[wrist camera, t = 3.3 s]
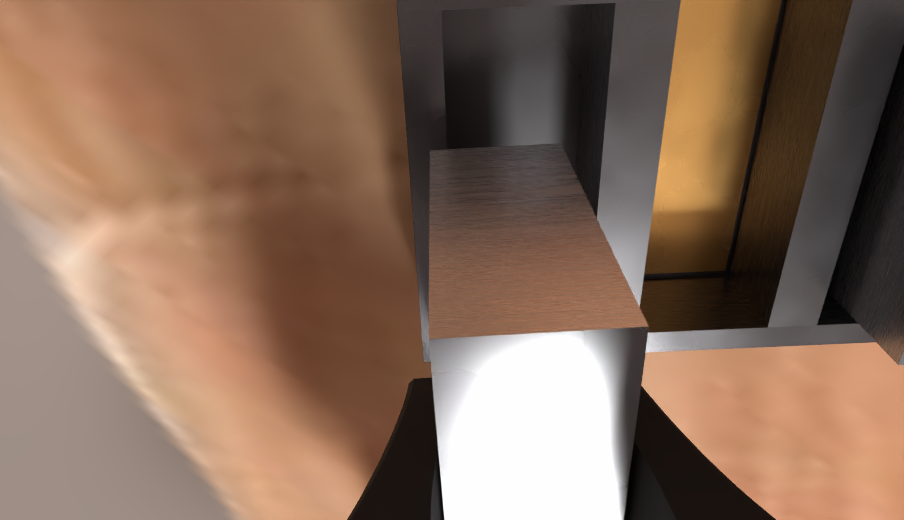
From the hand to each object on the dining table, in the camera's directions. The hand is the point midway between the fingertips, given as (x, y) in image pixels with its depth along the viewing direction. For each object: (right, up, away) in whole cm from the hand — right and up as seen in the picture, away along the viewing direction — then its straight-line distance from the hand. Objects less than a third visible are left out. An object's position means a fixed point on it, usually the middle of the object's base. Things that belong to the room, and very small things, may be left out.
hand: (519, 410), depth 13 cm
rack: (+6, +7, +8) cm, 12 cm away
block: (0, +2, +4) cm, 4 cm away
